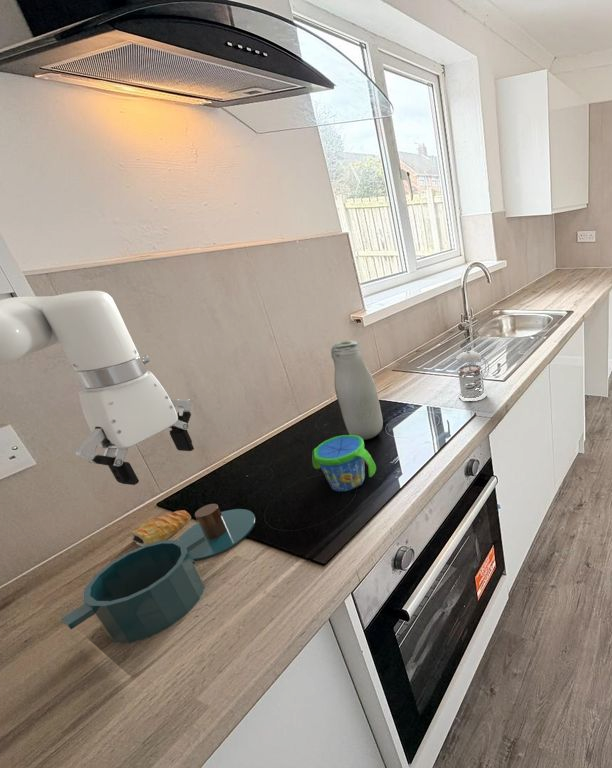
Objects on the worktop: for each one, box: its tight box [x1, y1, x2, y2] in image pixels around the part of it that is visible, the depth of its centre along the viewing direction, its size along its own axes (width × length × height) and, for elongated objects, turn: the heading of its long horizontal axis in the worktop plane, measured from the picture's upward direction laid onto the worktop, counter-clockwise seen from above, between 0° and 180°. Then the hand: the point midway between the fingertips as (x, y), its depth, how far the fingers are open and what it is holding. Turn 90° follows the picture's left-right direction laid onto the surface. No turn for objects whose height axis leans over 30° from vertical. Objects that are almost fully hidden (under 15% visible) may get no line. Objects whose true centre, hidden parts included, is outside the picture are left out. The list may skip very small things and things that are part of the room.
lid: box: [177, 503, 257, 561], centre depth 81 cm, size 14×14×7 cm
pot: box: [60, 533, 206, 644], centre depth 66 cm, size 13×18×8 cm
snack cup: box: [311, 434, 377, 493], centre depth 94 cm, size 16×10×10 cm
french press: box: [455, 321, 490, 403], centre depth 132 cm, size 10×12×25 cm
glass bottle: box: [330, 340, 384, 441], centre depth 110 cm, size 10×10×28 cm
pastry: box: [130, 509, 192, 547], centre depth 84 cm, size 9×7×4 cm
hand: (160, 465), depth 70 cm, fingers open, 9 cm apart
